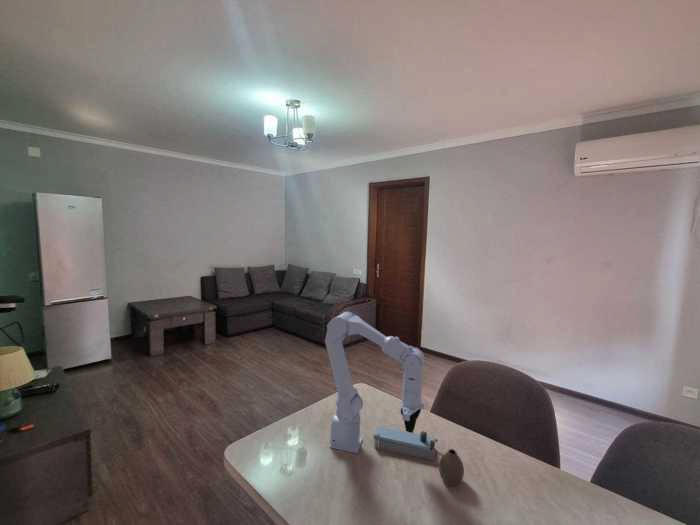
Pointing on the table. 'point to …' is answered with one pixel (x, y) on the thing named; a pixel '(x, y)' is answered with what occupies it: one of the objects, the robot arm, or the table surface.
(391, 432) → the cover
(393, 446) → the grey u-channel
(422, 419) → the table surface
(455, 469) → the vase
